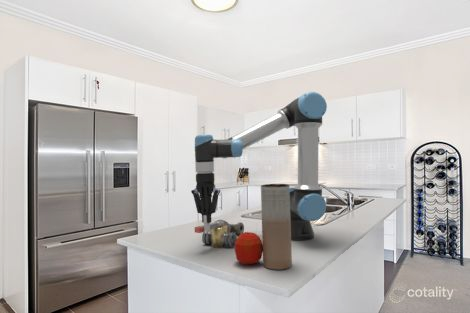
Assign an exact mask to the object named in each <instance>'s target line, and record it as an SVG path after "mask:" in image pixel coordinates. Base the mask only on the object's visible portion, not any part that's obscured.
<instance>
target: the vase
mask: <svg viewBox="0 0 470 313" xmlns="http://www.w3.org/2000/svg"><path fill="white" fill-rule="evenodd" d="M290 188H291V187H290V184H285V183H270V184H269V183H267V184H261V185H260V197H261V198H260V202H261V203H260V205H261V206H260V207H261V233H262V234H261V237H262V239H261V240H262V245H263V252H262V262H263V263H262V264H263V266H264V268H266V269H268V268H269V270H272V271H282V270H288V269H290V268H291V267H292V265H293V263H292V262H293V256H292V240H291V218H290Z"/></svg>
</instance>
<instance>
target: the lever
mask: <svg viewBox="0 0 470 313" xmlns="http://www.w3.org/2000/svg"><path fill="white" fill-rule="evenodd" d="M223 226H224V222H223V221H217V220H216V221H214V222H211V223H210V229H214V228H217V227H223ZM194 233H197V234H203V233H204V224H203V225H199V226H194Z"/></svg>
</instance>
